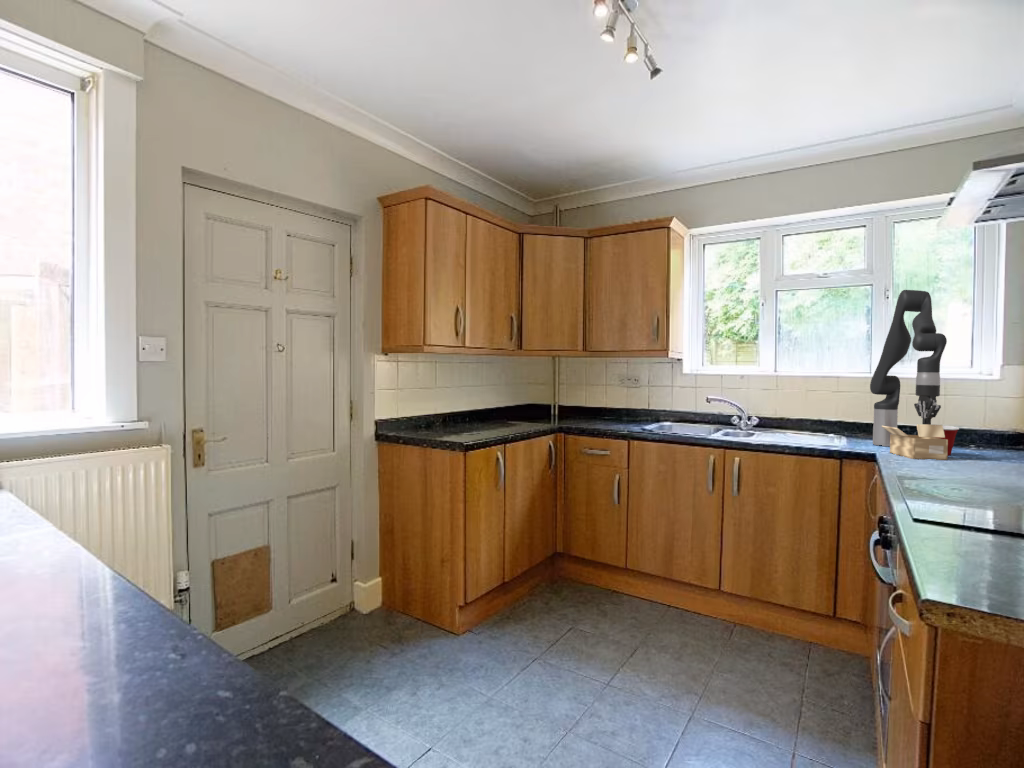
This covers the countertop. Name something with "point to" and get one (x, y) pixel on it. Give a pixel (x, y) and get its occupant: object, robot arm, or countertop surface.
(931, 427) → the short flap
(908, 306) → the robot arm
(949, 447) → the plastic cup
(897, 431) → the long flap
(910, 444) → the carton
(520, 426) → the countertop surface
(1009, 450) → the countertop surface
